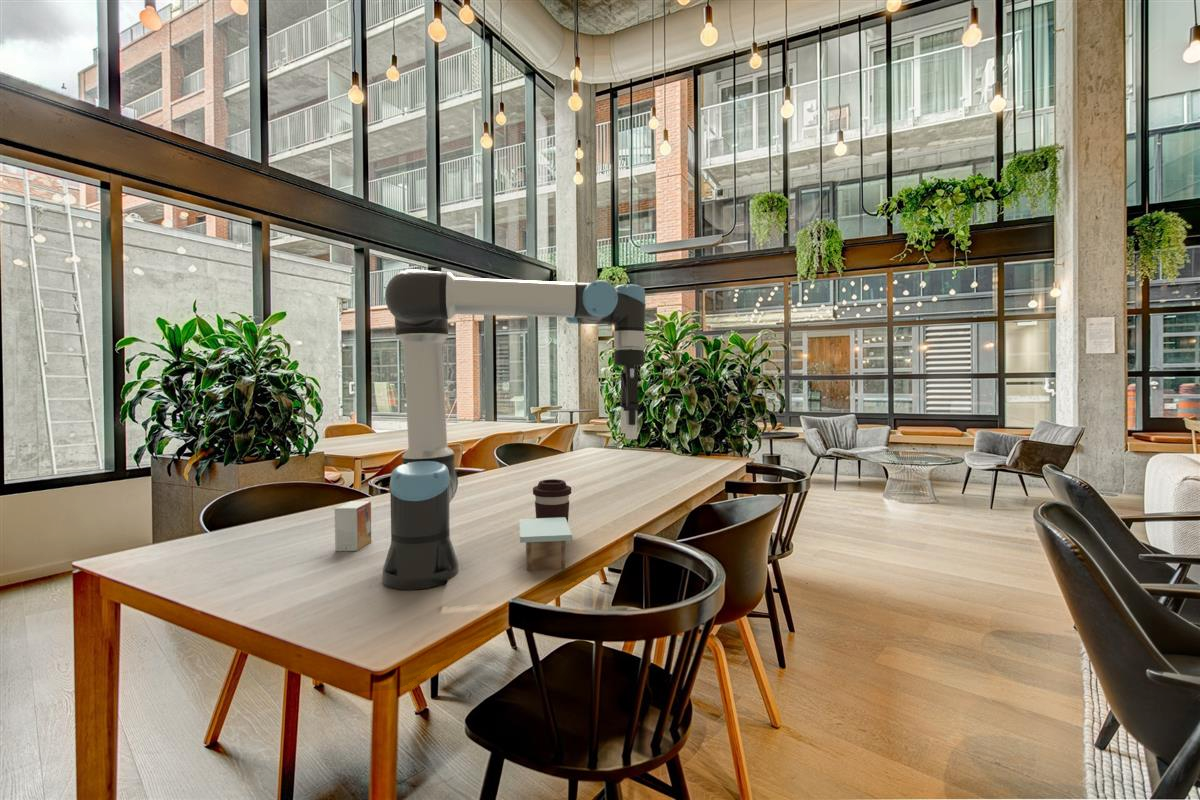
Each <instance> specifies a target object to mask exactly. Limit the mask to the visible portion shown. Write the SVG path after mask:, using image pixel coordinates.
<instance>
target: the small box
mask: <svg viewBox="0 0 1200 800" xmlns="http://www.w3.org/2000/svg"><path fill="white" fill-rule="evenodd" d="M371 542H372V502H371V501H363V500H362V501H361V500H358V501H356V500H355V501H354V500H353V501H352V500H351V501H348V502H347V503H343V505H340V506H338V507H335V508H334V546H335V547H334V549H335V550H334V551H335V552H357V551H359V550H361V549H362V548H363V547H366V546H367V545H368V544H370V543H371Z"/></svg>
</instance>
